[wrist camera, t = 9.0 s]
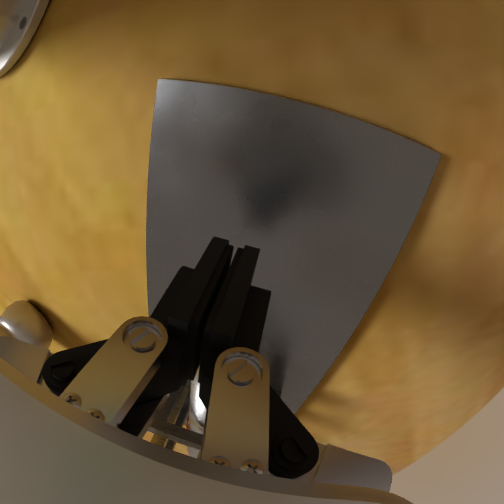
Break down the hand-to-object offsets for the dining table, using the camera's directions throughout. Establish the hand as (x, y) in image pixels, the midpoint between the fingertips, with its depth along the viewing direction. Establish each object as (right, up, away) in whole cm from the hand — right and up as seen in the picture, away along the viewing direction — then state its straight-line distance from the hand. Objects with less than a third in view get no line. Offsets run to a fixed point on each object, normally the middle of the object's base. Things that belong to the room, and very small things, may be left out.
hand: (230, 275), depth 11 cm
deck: (0, -6, +9) cm, 10 cm away
